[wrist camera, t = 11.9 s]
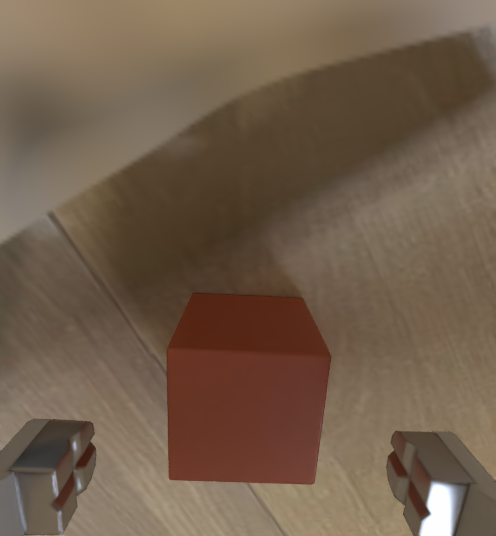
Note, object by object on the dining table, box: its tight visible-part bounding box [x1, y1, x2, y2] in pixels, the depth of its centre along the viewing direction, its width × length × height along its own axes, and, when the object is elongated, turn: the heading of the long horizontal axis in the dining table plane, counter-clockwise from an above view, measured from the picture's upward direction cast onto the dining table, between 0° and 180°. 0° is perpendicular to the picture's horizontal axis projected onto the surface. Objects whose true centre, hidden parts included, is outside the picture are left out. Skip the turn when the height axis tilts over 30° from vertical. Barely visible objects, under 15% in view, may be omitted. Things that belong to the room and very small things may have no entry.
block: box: [167, 293, 331, 485], centre depth 11 cm, size 4×4×4 cm
